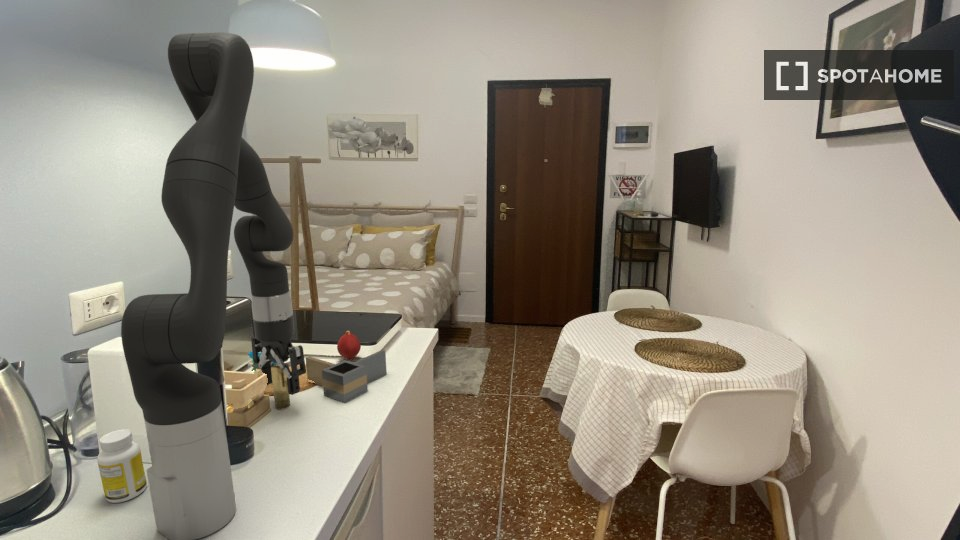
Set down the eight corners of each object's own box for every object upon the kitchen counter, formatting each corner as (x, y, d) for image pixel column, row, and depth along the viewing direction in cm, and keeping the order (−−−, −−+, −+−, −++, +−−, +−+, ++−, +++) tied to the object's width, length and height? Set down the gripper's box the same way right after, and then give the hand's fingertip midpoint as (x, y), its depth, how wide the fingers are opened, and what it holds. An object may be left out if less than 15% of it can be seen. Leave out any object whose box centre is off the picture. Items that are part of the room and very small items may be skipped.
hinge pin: (281, 410, 104) (276, 369, 102) (272, 407, 106) (267, 366, 104) (293, 404, 107) (289, 364, 105) (284, 401, 108) (280, 361, 106)
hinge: (344, 403, 107) (342, 376, 106) (297, 386, 115) (295, 361, 114) (395, 376, 120) (394, 352, 118) (349, 363, 128) (347, 341, 127)
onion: (336, 358, 132) (334, 328, 130) (358, 354, 134) (356, 325, 132) (340, 366, 127) (338, 335, 125) (363, 361, 129) (361, 332, 127)
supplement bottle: (140, 477, 82) (130, 422, 80) (152, 490, 79) (142, 433, 77) (100, 494, 78) (89, 437, 76) (111, 509, 75) (99, 449, 73)
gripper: (235, 313, 103) (244, 387, 106) (278, 325, 95) (287, 404, 99) (268, 304, 109) (276, 374, 112) (311, 314, 101) (318, 389, 105)
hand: (281, 388), depth 106 cm, fingers open, 8 cm apart
